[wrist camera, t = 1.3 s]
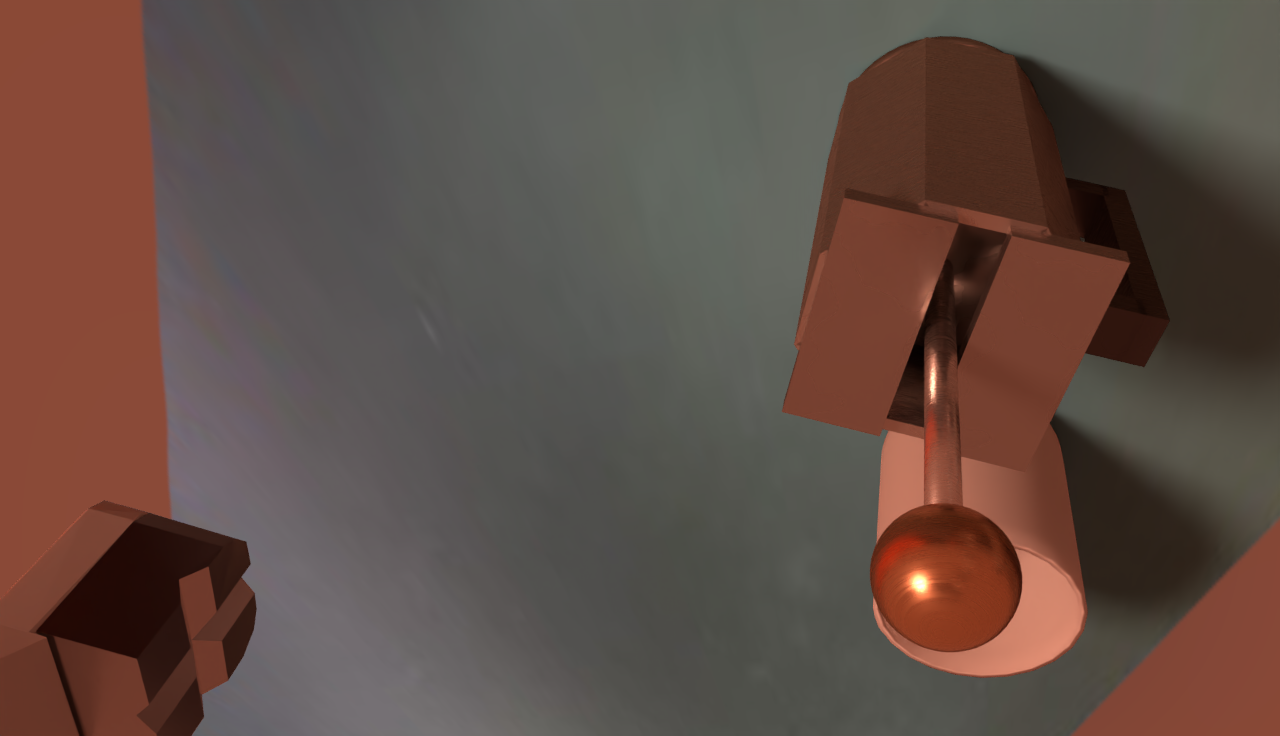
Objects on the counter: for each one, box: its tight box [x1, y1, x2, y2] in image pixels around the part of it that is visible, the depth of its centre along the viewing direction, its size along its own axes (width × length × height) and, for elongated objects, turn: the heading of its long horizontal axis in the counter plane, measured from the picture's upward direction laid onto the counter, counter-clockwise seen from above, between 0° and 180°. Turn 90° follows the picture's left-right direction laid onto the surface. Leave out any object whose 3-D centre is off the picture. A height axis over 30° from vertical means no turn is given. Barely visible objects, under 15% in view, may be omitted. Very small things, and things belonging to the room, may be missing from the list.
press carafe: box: [782, 36, 1170, 472], centre depth 40 cm, size 9×12×17 cm
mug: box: [873, 423, 1088, 678], centre depth 53 cm, size 10×12×12 cm
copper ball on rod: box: [870, 223, 1022, 652], centre depth 31 cm, size 7×7×18 cm
